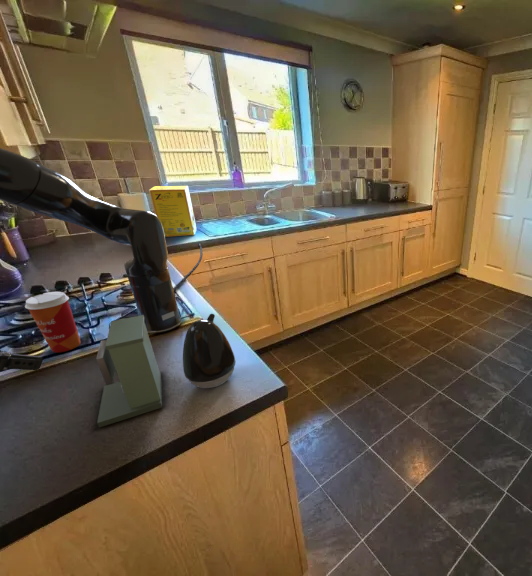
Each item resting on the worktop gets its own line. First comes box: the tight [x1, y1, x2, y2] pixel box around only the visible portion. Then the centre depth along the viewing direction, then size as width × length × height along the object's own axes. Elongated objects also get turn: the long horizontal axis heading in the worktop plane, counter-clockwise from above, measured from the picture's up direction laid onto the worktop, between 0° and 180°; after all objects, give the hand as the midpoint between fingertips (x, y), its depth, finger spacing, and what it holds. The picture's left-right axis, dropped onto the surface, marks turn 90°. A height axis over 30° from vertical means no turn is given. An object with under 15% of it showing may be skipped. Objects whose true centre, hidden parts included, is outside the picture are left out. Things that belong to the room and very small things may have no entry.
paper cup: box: [24, 291, 81, 353], centre depth 81 cm, size 8×8×14 cm
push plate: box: [95, 339, 116, 385], centre depth 63 cm, size 7×1×6 cm, turn 33°
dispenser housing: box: [96, 315, 163, 428], centre depth 65 cm, size 12×10×16 cm
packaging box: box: [148, 185, 197, 238], centre depth 183 cm, size 16×16×25 cm
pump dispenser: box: [182, 313, 237, 389], centre depth 71 cm, size 10×10×15 cm
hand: (40, 363), depth 56 cm, fingers closed
